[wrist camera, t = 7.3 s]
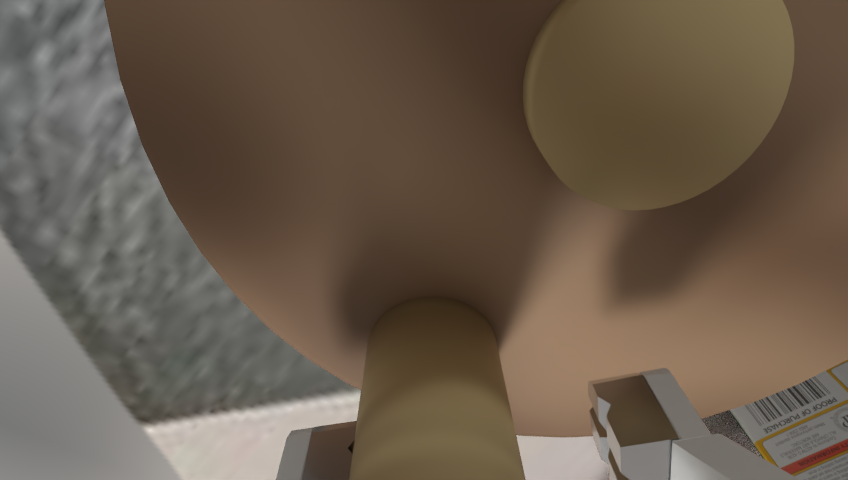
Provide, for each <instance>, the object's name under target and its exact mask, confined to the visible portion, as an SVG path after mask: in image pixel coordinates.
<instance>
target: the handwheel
mask: <svg viewBox="0 0 848 480" xmlns="http://www.w3.org/2000/svg"><path fill="white" fill-rule="evenodd" d="M104 1H105V8H106V13H107V17H108V22H109V27H110V32H111V37H112V41H113V46H114V51H115V56H116V61H117V65H118V70H119V75H120V80H121V83H122V86H123V89H124V92H125V95H126V98H127V101H128V104H129V107H130V110H131V112H132V115H133V118H134V121H135V124H136V127H137V130H138V133H139V136H140V139H141V142H142V145H143V147H144V149H145V152H146V154H147V156H148V158H149V160H150V162H151V164H152V166H153V168H154V171H155V173H156V175H157V177H158V179H159V181H160V183H161V185H162V187H163V190H164V192H165V194H166V196H167V198H168V200H169V202H170V204H171V205H172V207H173V209H174V210H175V212H176V213H177V215H178V217H179V218H180V220H181V221H182V223H183V225H184V226H185V228H186V229H187V231H188V233H189V234H190V236H191V237H192V239H193V240H194V242H195V244H196V245H197V247H198V248H199V250H200V252H201V253H202V254H203V255H204V257H205V258H206V259H207V260H208V262H209V263H210V264H211V265H212V267H213V268H214V269H215V270H216V272H217V273H218V274H219V275H220V277H221V278H222V279H223V280H224V282H225V283H226V284H227V285H228V286H229V288H230V289H231V290H232V291H233V293H234V294H235V295H236V296H237V297H238V298H239V299H240V300H241V301H242V302H243V303H244V304H245V305H246V306H247V307H248V308H249V309H250V310H251V311H252V312H253V313H254V314H255V315H256V316H257V317H258V318H259V319H260V320H261V321H262V322H263V323H264V324H265V325H267V326H268V327H269V328H270V329H271V330H272V331H273V332H274V333H276V334H277V335H278V336H279V337H281V338H282V339H283V340H284V341H286V342H287V343H288V344H290V345H291V346H292V347H293V348H295V349H296V350H297V351H299V352H300V353H301V354H302V355H304V356H305V357H306V358H308V359H309V360H310V361H312V362H313V363H315V364H317V365H318V366H320V367H322V368H323V369H325V370H326V371H328V372H330V373H331V374H333V375H335V376H336V377H338V378H339V379H341V380H343V381H344V382H346V383H348V384H349V385H351V386H353V387H355V388H358V389H360V390H361V396H360V403H359V410H358V418H357V425H356V432H355V440H354V447H353V454H352V462H351V469H350V476H349V480H525V476H524V471H523V466H522V461H521V456H520V452H519V447H518V442H517V437H516V435H521V436H544V437H583V436H593V432H592V427H591V422H590V413H589V411H590V409H591V408H592V407H593V406H592V403H591V401H590V398H589V396H588V382H589V381H593V380H598V379H604V378H609V377H615V376H620V375H626V374H631V373H639V372H644V371H649V370H655V369H661V368H666V369H668V370H669V371H670V372H671V373H672V375H673V376H674V378H675V379H676V381H677V382H678V384H679V385H680V387H681V388H682V390H683V391H684V393H685V394H686V396H687V398H688V399H689V401H690V402H691V404H692V405H693V407H694V408H695V410H696V411H697V413H698V414H699V416H700V417H701V419H702V418H706V417H709V416H712V415H715V414H719V413H722V412H725V411H728V410H731V409H735V408H738V407H741V406H744V405H747V404H750V403H753V402H755V401H758V400H760V399H763V398H765V397H768V396H770V395H773V394H775V393H778V392H780V391H783V390H785V389H788V388H790V387H793V386H795V385H798V384H800V383H802V382H804V381H806V380H808V379H810V378H812V377H814V376H816V375H818V374H820V373H822V372H824V371H826V370H828V369H830V368H832V367H834V366H836V365H838V364H840V363H842V362H844V361H846V360H848V0H104Z"/></svg>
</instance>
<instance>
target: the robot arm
mask: <svg viewBox="0 0 848 480" xmlns="http://www.w3.org/2000/svg"><path fill="white" fill-rule="evenodd" d="M588 396H589V398H590V401H591V403H592V406H593V407H592V408H591V409H590V411H589V413H590V422H591V427H592V432H593V437H594V440H595V443H596V446H597V449H598V452H599V454H600V457H601V459H602V460H603V461H605V462H606V463H607V464H608V467H609V480H799V479H798V478H796V477H794V476H792V475H791V474H789V473H787V472H786V471H784V470H782V469H780V468H779V467H777V466H775V465H774V464H772V463H770V462H768V461H767V460H765V459H763V458H762V457H760V456H758V455H756V454H755V453H753V452H751V451H750V450H748V449H746V448H744V447H743V446H741V445H739V444H738V443H736V442H734V441H732V440H731V439H729V438H727V437H726V436H724V435H722V434H720V433H719V434H711V433H710V431H709V429H708V428H707V426H706V425H705V423H704V422H703V420H702V419H701V417H700V416H699V414H698V413H697V411H696V410H695V408H694V407H693V405H692V404H691V402H690V401H689V399H688V398H687V396H686V394H685V393H684V391H683V390H682V388H681V387H680V385H679V384H678V382H677V381H676V379H675V378H674V376H673V375H672V373H671V372H670V371H669V370H668V369H666V368H661V369H655V370H649V371H644V372H639V373H631V374H626V375H620V376H615V377H609V378H604V379H598V380H593V381H589V382H588ZM356 425H357V421H354V422H347V423H340V424H333V425H326V426H319V427H314V428H307V429H301V430H294V431H291V433H290V434H289V436H288V437H287V440H286V443H285V447H284V451H283V455H282V459H281V462H280V466H279V470H278V474H277V478H276V480H349V476H350V469H351V462H352V454H353V447H354V440H355V432H356Z"/></svg>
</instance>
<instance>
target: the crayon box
mask: <svg viewBox="0 0 848 480" xmlns="http://www.w3.org/2000/svg"><path fill="white" fill-rule="evenodd" d="M729 411H730V412H731V414H732V415H733V417H734V418H735V420H736V421H737V422H738V424H739V425H740V427H741V428H742V429H743V431H744V432H745V434H746V435H747V436H748V438H749V439H750V440H751V442H752V443H753V445H754V446H755V447H756V449H757V450H758V452H759V453H760V454H761V456H762V457H763V459H765V460H767V461H768V462H770V463H772V464H774V465H775V466H777V467H779V468H780V469H782V470H784V471H786V472H787V473H789V474H791V475H792V476H794V477H796V478H798V479H799V480H848V360H846V361H844V362H842V363H840V364H838V365H836V366H834V367H832V368H830V369H828V370H826V371H824V372H822V373H820V374H818V375H816V376H814V377H812V378H810V379H808V380H806V381H804V382H802V383H800V384H798V385H795V386H793V387H790V388H788V389H785V390H783V391H780V392H778V393H775V394H773V395H770V396H768V397H765V398H763V399H760V400H758V401H755V402H753V403H750V404H747V405H744V406H741V407H738V408H735V409H731V410H729Z"/></svg>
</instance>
